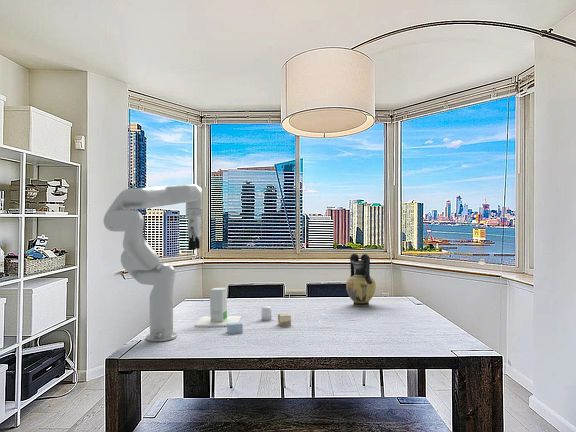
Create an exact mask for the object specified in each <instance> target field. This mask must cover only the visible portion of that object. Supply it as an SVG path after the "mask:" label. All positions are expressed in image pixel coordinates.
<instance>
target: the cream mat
mask: <svg viewBox="0 0 576 432" xmlns="http://www.w3.org/2000/svg"><path fill="white" fill-rule="evenodd" d="M241 319H242V315H227V319H226V320H224V321H223V322H211V317H210V315H209V316H206V315H205V316H204V315H203V316H201V317H200V318H199V320H197V322H196V323H195V324H194V328H200V327H201V328H203V327H204V328H206V327H207V328H213V327H214V328H215V327H219V328H220V327H222V328H223V327H224V326H225V327H226V328H227V323H233V322H241ZM225 327H224V328H225Z"/></svg>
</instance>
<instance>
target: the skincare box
mask: <svg viewBox="0 0 576 432" xmlns="http://www.w3.org/2000/svg"><path fill="white" fill-rule="evenodd" d="M227 295H228V294H227V287H213V288H211V289H210V290H209V297H210V300H209V301H210V302H209V304H210V305H209V306H210V307H209V308H210V315H209V316H210V317H211V322H223V321H224V320H226V319H227V316H228V300H227V299H228V298H227Z"/></svg>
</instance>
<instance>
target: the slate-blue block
mask: <svg viewBox="0 0 576 432" xmlns="http://www.w3.org/2000/svg"><path fill="white" fill-rule="evenodd" d="M226 329H227V330H226V331H227V333H228V334H229V335H230V334H231V333H232V334H240V333H243V330H244V329H243V322H241V321H240V322H233V323H227V326H226Z"/></svg>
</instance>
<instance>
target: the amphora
mask: <svg viewBox="0 0 576 432" xmlns="http://www.w3.org/2000/svg"><path fill="white" fill-rule="evenodd" d="M349 261H350V263H349V264H350V275H349V276H350V277H349V278H348V279H347V281H346V284H345V287H346V288H345V290H346V292H347V295H348V297H349V299H350V300H351V301H352V302H353V306H355V307H369V306H370V303H369V302H370V301H371V300H372V299H373V297H374V295H375V293H376V281H375V279H374V278H373V277H372V276H370V275H371V274H370V269H371V268H370V267H371V266H370V265H371V264H370V263H371V258H370V256H369V255H368V254H367V253H364V254H362V255H361V257H359V255H358V254H357V253H352V254H351V255H350V257H349Z"/></svg>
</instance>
